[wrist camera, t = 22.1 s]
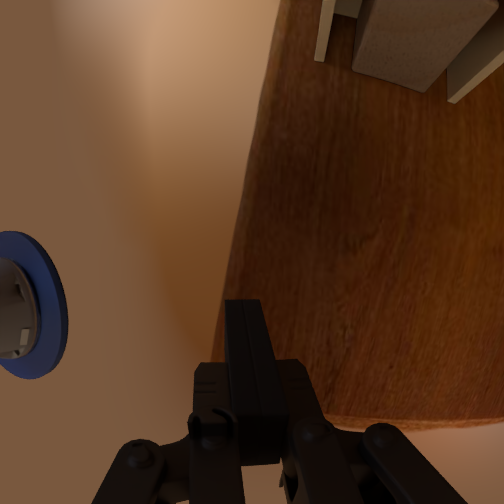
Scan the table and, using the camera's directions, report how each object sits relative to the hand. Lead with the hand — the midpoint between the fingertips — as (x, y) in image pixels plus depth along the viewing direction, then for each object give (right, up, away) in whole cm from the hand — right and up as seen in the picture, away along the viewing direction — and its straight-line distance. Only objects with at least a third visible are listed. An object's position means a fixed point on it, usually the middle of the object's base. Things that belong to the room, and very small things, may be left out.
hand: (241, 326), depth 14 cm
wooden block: (+18, +29, +19) cm, 39 cm away
